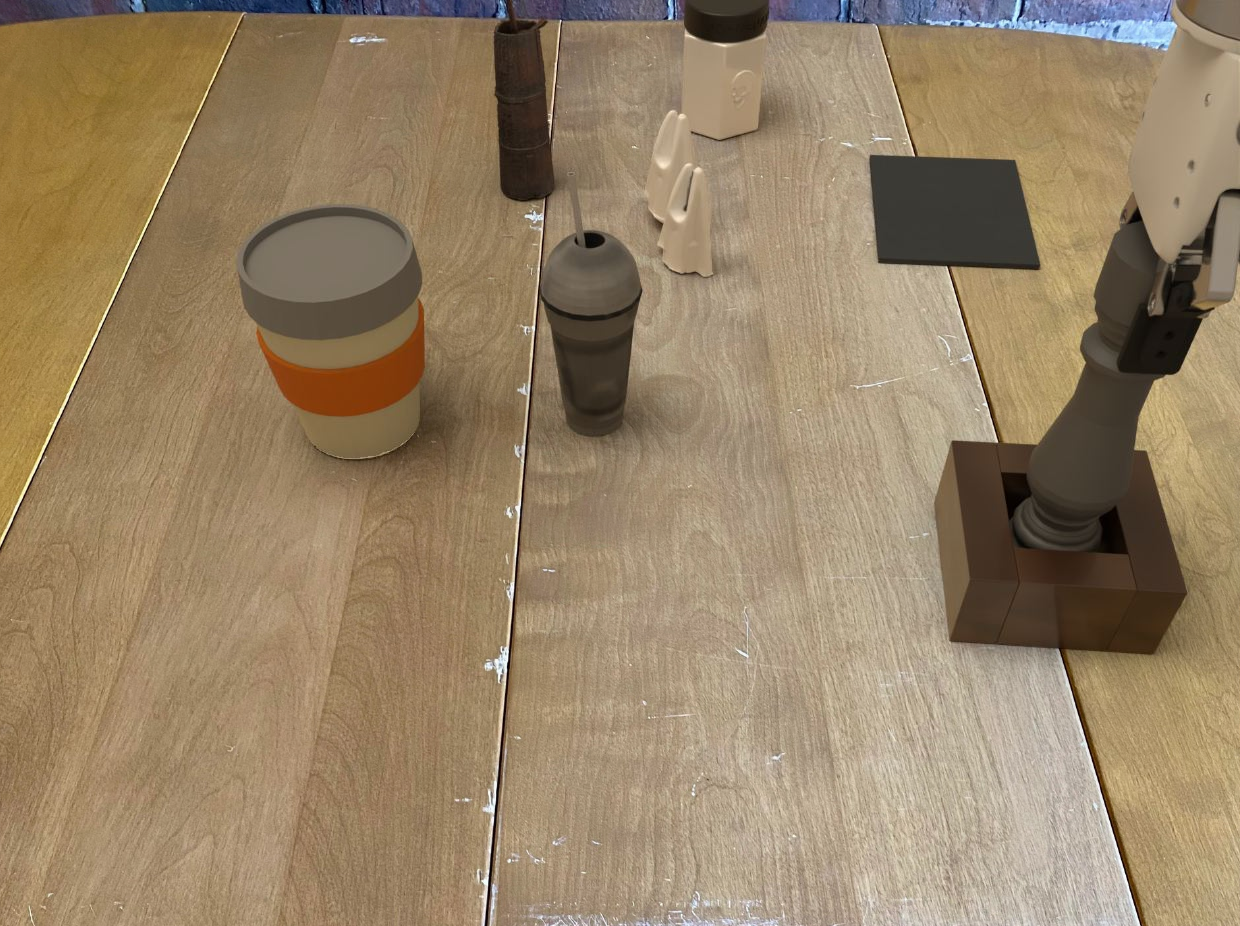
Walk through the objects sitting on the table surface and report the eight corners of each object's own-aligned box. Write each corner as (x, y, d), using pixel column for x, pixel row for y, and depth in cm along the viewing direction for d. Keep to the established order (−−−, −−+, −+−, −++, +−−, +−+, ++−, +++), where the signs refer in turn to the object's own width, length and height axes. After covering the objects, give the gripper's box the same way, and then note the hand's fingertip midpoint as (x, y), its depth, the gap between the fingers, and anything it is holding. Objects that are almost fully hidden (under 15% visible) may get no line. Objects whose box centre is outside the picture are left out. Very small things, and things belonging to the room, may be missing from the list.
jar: (701, 147, 118) (707, 23, 108) (662, 112, 122) (665, -10, 113) (777, 126, 120) (790, 3, 111) (736, 93, 125) (745, -29, 116)
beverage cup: (622, 457, 89) (622, 215, 73) (533, 436, 90) (514, 195, 75) (653, 398, 93) (659, 158, 78) (567, 379, 95) (556, 141, 79)
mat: (1014, 164, 115) (1015, 159, 114) (1039, 269, 103) (1040, 264, 103) (869, 159, 116) (869, 154, 115) (878, 262, 104) (879, 257, 104)
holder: (1118, 513, 84) (1146, 449, 79) (1153, 654, 76) (1188, 593, 71) (933, 503, 85) (951, 439, 80) (949, 641, 77) (970, 579, 72)
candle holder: (1066, 622, 78) (1213, 297, 58) (977, 584, 80) (1090, 260, 61) (1096, 564, 81) (1245, 238, 62) (1010, 529, 83) (1127, 205, 64)
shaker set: (642, 209, 111) (643, 92, 102) (685, 204, 111) (690, 88, 103) (668, 282, 103) (672, 162, 95) (714, 276, 104) (722, 157, 95)
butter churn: (587, 159, 117) (579, -170, 95) (583, 211, 111) (574, -128, 89) (495, 159, 117) (466, -169, 95) (486, 210, 111) (453, -127, 89)
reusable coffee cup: (251, 453, 90) (195, 282, 78) (333, 357, 97) (293, 188, 86) (396, 493, 87) (361, 321, 75) (470, 391, 94) (448, 220, 82)
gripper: (1431, 83, 46) (1242, 439, 59) (1307, -86, 56) (1171, 249, 70) (1230, 77, 46) (1090, 432, 60) (1146, -89, 57) (1043, 244, 71)
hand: (1135, 330), depth 65 cm, fingers open, 5 cm apart
